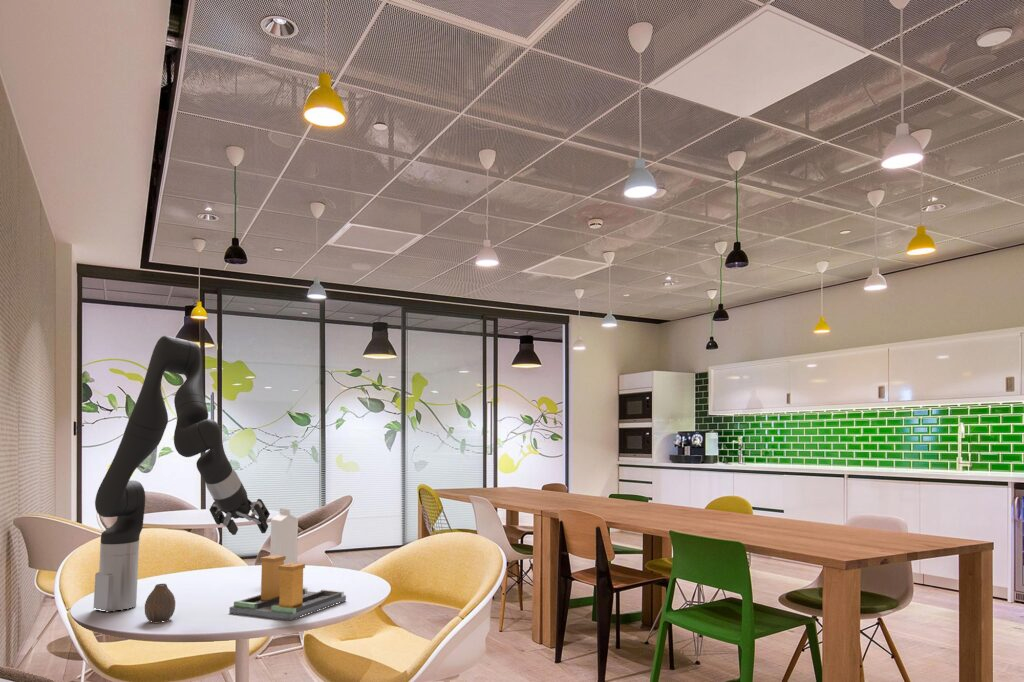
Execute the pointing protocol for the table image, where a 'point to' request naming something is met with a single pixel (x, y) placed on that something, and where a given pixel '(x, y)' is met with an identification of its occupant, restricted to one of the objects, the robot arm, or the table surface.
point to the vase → (160, 604)
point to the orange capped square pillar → (271, 576)
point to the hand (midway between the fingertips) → (250, 531)
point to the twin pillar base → (288, 598)
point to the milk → (284, 536)
